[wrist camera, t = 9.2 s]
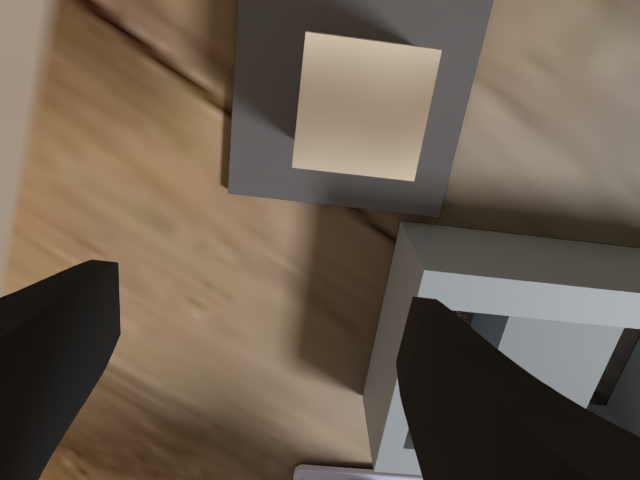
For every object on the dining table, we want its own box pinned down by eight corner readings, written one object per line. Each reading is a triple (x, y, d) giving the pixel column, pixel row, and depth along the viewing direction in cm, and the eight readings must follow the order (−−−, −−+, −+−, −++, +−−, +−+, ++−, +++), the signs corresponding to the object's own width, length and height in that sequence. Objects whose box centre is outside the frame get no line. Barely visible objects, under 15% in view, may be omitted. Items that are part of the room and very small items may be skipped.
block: (393, 151, 19) (414, 181, 15) (294, 140, 19) (291, 167, 15) (413, 45, 17) (442, 50, 14) (305, 30, 17) (305, 31, 13)
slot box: (614, 417, 26) (673, 493, 22) (362, 396, 25) (373, 471, 21) (697, 254, 22) (790, 309, 18) (400, 221, 21) (424, 270, 16)
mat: (436, 214, 21) (438, 217, 20) (229, 190, 20) (227, 193, 20) (494, -18, 17) (498, -19, 17) (242, -58, 16) (241, -59, 16)
